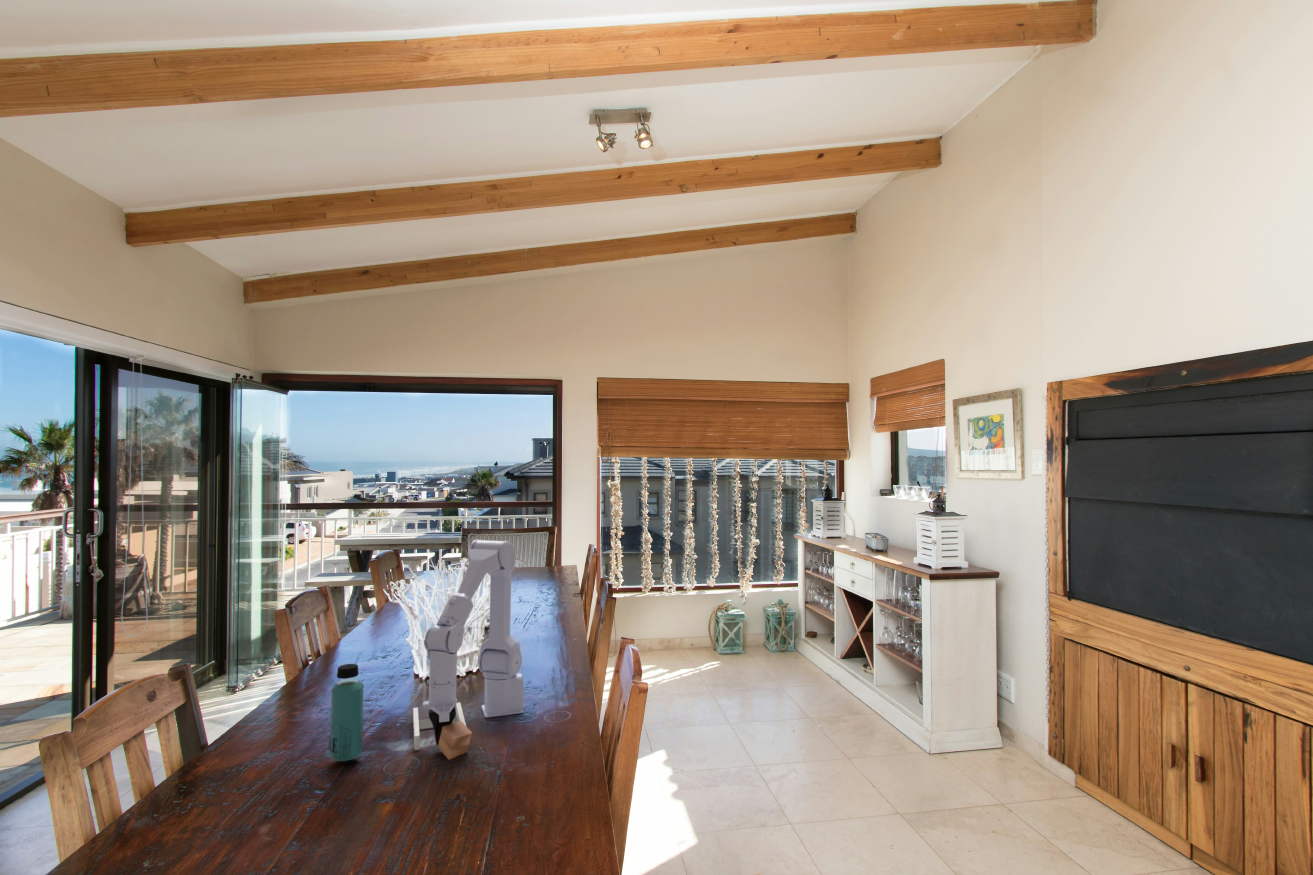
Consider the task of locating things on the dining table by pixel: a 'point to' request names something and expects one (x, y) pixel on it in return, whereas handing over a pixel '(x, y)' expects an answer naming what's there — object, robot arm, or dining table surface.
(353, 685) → the beverage bottle
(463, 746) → the block
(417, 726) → the channel
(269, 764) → the dining table surface
